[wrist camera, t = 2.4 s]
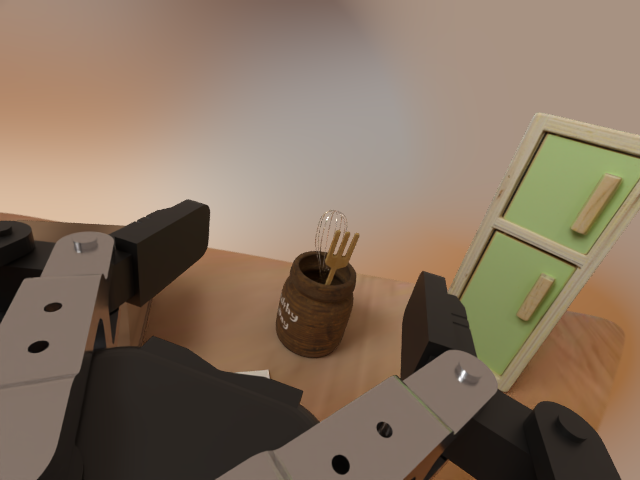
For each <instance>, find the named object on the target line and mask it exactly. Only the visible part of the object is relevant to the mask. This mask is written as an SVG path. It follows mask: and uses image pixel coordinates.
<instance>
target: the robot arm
mask: <svg viewBox="0 0 640 480" xmlns="http://www.w3.org/2000/svg"><path fill="white" fill-rule="evenodd" d="M209 221H210V209H209V207H208V205H205V204H202V203H198V202H196V201H192V200H185V201H183V202H181V203H179V204H177V205H175V206H173V207H171V208H167V209H162V210H157V211H155V212H153V213H151V214H149V215H147V216H146V217H143V218H141V219H139V220H137V222H133V223H131V224H129V225H127V226H125V227H123V228H121V229H119V230H117V231H115V232H112V233H110V234H108V235H107V234H105V233H101V232H78V233H73V234H70V235H67V236H65V237H62V238H61V239H59V240H58V241H57V242H56V243H54V242H45V241H36V240H34V237H33V233H32V229H31V227H30V226H29V225H28V224H25V223H22V222H17V221H0V480H432V479H433V478H434V477H435V476H436V475H437V473H438V472H439V471H440V470H441V469H442V468H443V467H444V466H445V465H446V464H447V463H448V461H449V460H450V461H452V462H453V463H454V464H456V465H457V466H459V467H460V468H461V469H463V470H464V471H466V472H467V473H468V474H470V475H471V476H473V477H474V478H476V479H477V480H621V478H620V476H619V474H618V472H617V470H616V468H615V466H614V464H613V462H612V459H611V457H610V455H609V453H608V451H607V449H606V447H605V445H604V443H603V442H602V439H601V438H600V437H599V435H598V434H597V432H596V431H595V430H594V429H593V428H592V427H591V426H590V425H589V424H588V423H587V422H586V421H585V420H584V419H583V418H582V417H580V416H579V415H578V414H576V413H575V412H573V411H572V410H570V409H568V408H567V407H565V406H562V405H560V404H558V403H554V402H550V401H543V402H540V403H538V404H537V405H536V407H535V408H534V409H533V410H531V409H530V408H528V407H526V406H524V405H523V404H521V403H519V402H518V401H516V400H514V399H512V398H511V397H509V396H507V395H506V394H504V393H503V392H501V391H500V390H499V389H498V383H497V380H496V377H495V375H494V374H493V372H492V371H491V370H490V368H489V367H488V366H487V365H486V364H484V363H483V362H482V361H481V360H479V359H478V358H477V354H476V350H475V346H474V342H473V338H472V334H471V330H470V329H469V328H470V326H469V322H468V320H467V314H466V310H465V307H464V305H463V304H462V303H461V301H460V300H459V299H458V298H457V296H455V295H451V294H448V293H447V287H446V281H445V278H444V277H441V276H438V275H435V274H431V273H428V272H425V271H422V272H421V274H420V276H419V278H418V280H417V282H416V285H415V287H414V290H413V292H412V294H411V297H410V299H409V302H408V304H407V306H406V309H405V313H404V317H403V322H402V349H401V378H399V377H398V376H397V375H394V376H391V377H389V378H388V379H386V380H385V381H383V382H381V383H380V384H378V385H377V386H375V387H374V388H372V389H371V390H369V391H368V392H366V393H364V394H363V395H361V396H360V397H358V398H357V399H355V400H354V401H352V402H351V403H349V404H348V405H346V406H344V407H343V408H341V409H340V410H338V411H337V412H335V413H334V414H332V415H331V416H329V417H327V418H326V419H324V420H323V421H321V422H319V421H318V419H317V418H316V417H315V416H314V415H313V414H312V413H310V412H309V411H308V410H307V409H306V408H304V407H303V406H301V405H300V401H301V397H302V394H303V391H302V390H299V389H297V388H294V387H291V386H288V385H286V384H283V383H280V382H277V381H275V380H272V379H269V378H267V377H262V376H255V375H247V374H239V373H231V372H224V371H220V370H218V369H216V368H215V367H213V366H212V365H211V364H209V363H208V362H206V361H205V360H203V359H202V358H201V357H199V356H198V355H196V354H195V353H193V352H192V351H190V350H189V349H187V348H185V347H182V346H179V345H176V344H174V343H171V342H168V341H165V340H163V339H160V338H157V337H154V336H152V337H151V338H150V339H149V340H148V341H147V342H146V343H145V344H144V345H143V346H142V347H139V346H120V347H117V342H118V334H119V326H120V317H121V308H120V306H121V305H122V304H123V303H125V302H127V303H129V304H132V305H135V306H138V307H142V306H143V305H144V304H146V303H147V302H148V301H149V300H150V299H152V298H153V297H154V296H155V295H156V294H158V293H159V292H160V291H161V290H163V289H164V288H165V287H166V286H167V285H169V284H170V283H171V282H172V281H173V280H175V279H176V278H177V277H178V276H180V275H181V274H182V273H183V272H184V271H186V270H187V269H188V268H189V267H190V266H192V265H193V264H194V263H195V262H197V261H198V260H199V259H200V258H201V257H202V256H203V255H204V253H205V252H206V249H207V246H208V239H209Z"/></svg>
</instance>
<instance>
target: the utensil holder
mask: <svg viewBox="0 0 640 480" xmlns="http://www.w3.org/2000/svg"><path fill="white" fill-rule="evenodd" d="M330 211H334V212H336V213H337V212H338V213H340V214H341V212H339V211H336V210H330ZM330 211H328V212H330ZM328 212H327V213H328ZM334 212H332V213H334ZM332 213H331V214H332ZM325 214H326V213H325ZM325 214H324V215H325ZM324 215H323V217H324ZM321 218H322V217H321ZM328 218H329V217H328ZM331 219H332V218H331ZM343 219H344V218H343ZM322 220H323V219H322ZM341 220H342V217H341ZM344 222H345V221H344ZM321 223H322V221H321ZM336 223H337V221H336ZM325 224H326V223H325ZM336 225H337V224H336ZM320 227H321V226H320ZM329 229H330V228H329ZM335 230H336V228H335ZM346 230H347V229H346ZM328 232H329V231H328ZM319 233H320V231H319ZM340 233H341V232H340V230H337V231H336V232H335V233H334V238H333V241H332V243H331V246H330V249H329V252H328V253H327V252H321V250H320V251H310V252H305V253H303V254H300V255H299V256H298V257H297V258H296V259H295V260H294V262H293V265H292V267H291V270H290V276H289V277H288V278H287V280H286V282H285V284H284V286H283V290H282V293H281V298H280V303H279V308H278V313H277V319H276V331H277V335H278V337H279V339H280V341H281V342H282V344H283V345H284V346H285V347H286V348H288V349H289V350H290V351H292V352H294V353H296V354H298V355H301V356H306V357H321V356H324V355H327V354H329V353H331V352H332V351H333V350H335V349H336V347H337V346H338V345H339V343H340V341H341V339H342V337H343V334H344V331H345V329H346V326H347V323H348V320H349V317H350V314H351V310H352V306H353V291H354V289H355V284H356V272H355V270H354V269H353V267H352V266H351V265H350V264H349V263H348V262H349V260H350V257H351V255H352V252H353V250H354V248H355V245H356V243H357V240H358V238H359V234H358V233H356V234H355V235H354V237H353V239H352V242H351V244H350V246H349V249H348V251H347V253H346V255H345V256H342V254H343V251H344V249H345V246H346V243H347V241H348V238H349V236H350V232H346V233H345V229H344V233H345V235H344V236H343V240H342V242H341V245H340V247H339V250H338V252H337V254H336V255H334V254H333V253H334V250H335V247H336V244H337V242H338V239H339V236H340ZM318 237H319V236H318ZM322 237H323V236H322ZM315 240H316V239H315ZM318 241H319V240H318ZM321 241H322V240H321ZM315 243H316V242H315ZM325 249H326V248H325ZM318 250H319V247H318Z"/></svg>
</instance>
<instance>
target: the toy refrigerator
mask: <svg viewBox="0 0 640 480" xmlns="http://www.w3.org/2000/svg"><path fill="white" fill-rule="evenodd" d="M639 210H640V135H636V134H632V133H627V132H623V131H619V130H614V129H610V128H606V127H602V126H597V125H593V124H589V123H585V122H581V121H576V120H572V119H568V118H564V117H559V116H555V115H549V114H544V113H536V114H535V115H534V117H533V119H532V120H531V122H530V124H529V126H528V128H527V130H526V132H525V134H524V136H523V138H522V140H521V142H520V144H519V146H518V148H517V150H516V152H515V154H514V157H513V159H512V161H511V163H510V165H509V167H508V169H507V171H506V173H505V175H504V177H503V179H502V181H501V183H500V185H499V187H498V190H497V192H496V194H495V196H494V198H493V200H492V202H491V204H490V206H489V208H488V210H487V212H486V215H485V217H484V219H483V221H482V223H481V225H480V227H479V229H478V231H477V233H476V235H475V237H474V239H473V241H472V243H471V245H470V247H469V249H468V252H467V253H466V255H465V258H464V259H463V262H462V264H461V266H460V268H459V270H458V272H457V274H456V276H455V278H454V280H453V283H452V284H451V287H450V288H449V290H448V292H447V293H448V294H451V295H455V296H457V298H458V299H459V300H460V301H461V303H462V304H463V305H464V307H465V310H466V314H467V320H468V322H469V326H470V328H469V329H470V330H471V334H472V338H473V342H474V346H475V350H476V354H477V358H478V359H479V360H481V361H482V362H483V363H484V364H486V365H487V366H488V367H489V368H490V370H491V371H492V372H493V374H494V375H495V377H496V380H497V383H498V389H499V390H501V391H503V392H508V391H509V389H510V388H511V387H512V385H513V384H514V383H515V381H516V380H517V378H518V377H519V376H520V374H521V373H522V371H523V370H524V369H525V367H526V366H527V364H528V363H529V361H530V360H531V359H532V357H533V356H534V354H535V353H536V352H537V350H538V349H539V348H540V346H541V345H542V343H543V342H544V341H545V339H546V338H547V337H548V335H549V334H550V332H551V331H552V330H553V328H554V327H555V325H556V324H557V323H558V321H559V320H560V319H561V317H562V316H563V314H564V313H565V312H566V310H567V309H568V307H569V306H570V305H571V303H572V302H573V300H574V299H575V298H576V296H577V295H578V293H579V292H580V291H581V289H582V288H583V287H584V285H585V284H586V282H587V281H588V280H589V278H590V277H591V276H592V274H593V273H594V272H595V270H596V269H597V267H598V266H599V265H600V263H601V262H602V261H603V259H604V258H605V256H606V255H607V254H608V252H609V251H610V249H611V248H612V247H613V245H614V244H615V243H616V241H617V240H618V239H619V237H620V236H621V234H622V233H623V231H624V230H625V229H626V227H627V226H628V224H629V223H630V222H631V221H632V219H633V218H634V216H635V215H636V214H637V212H638V211H639Z"/></svg>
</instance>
